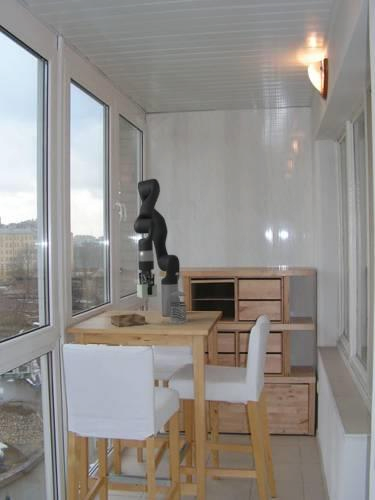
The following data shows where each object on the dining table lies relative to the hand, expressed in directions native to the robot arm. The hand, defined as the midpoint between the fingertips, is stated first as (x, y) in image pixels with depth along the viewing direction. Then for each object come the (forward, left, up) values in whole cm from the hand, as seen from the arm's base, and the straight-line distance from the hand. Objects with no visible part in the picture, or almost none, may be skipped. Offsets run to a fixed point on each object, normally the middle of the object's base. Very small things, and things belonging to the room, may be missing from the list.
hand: (147, 294), depth 268 cm
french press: (-17, -3, -16) cm, 23 cm away
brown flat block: (+7, -10, -15) cm, 19 cm away
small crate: (0, 0, -1) cm, 1 cm away
